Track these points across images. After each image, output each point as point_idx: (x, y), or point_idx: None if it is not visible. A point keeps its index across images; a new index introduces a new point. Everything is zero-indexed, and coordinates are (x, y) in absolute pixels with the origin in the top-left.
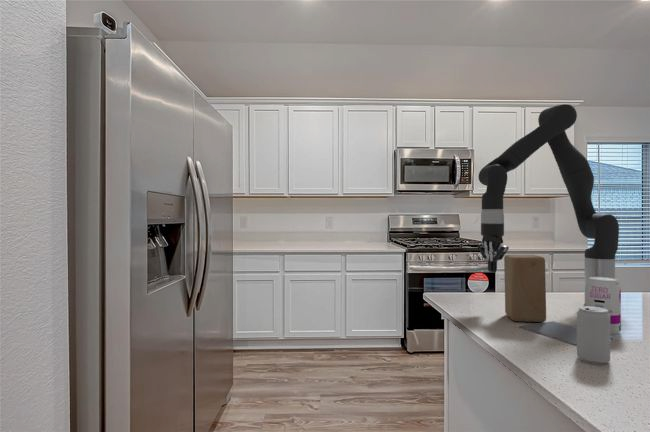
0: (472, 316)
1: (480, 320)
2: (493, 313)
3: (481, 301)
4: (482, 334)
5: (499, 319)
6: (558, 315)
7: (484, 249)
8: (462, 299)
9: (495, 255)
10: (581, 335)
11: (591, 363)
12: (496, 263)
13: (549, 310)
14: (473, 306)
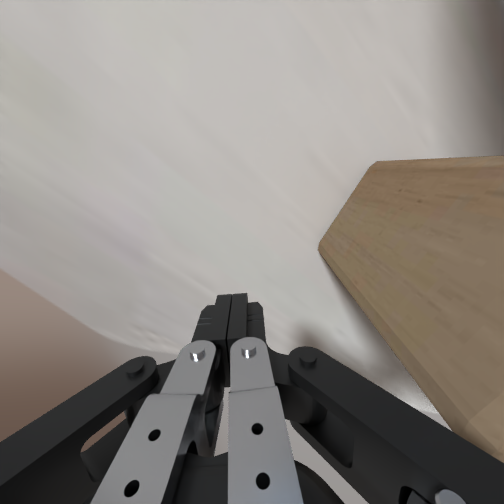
0: (293, 342)
1: (334, 346)
2: (287, 270)
3: (117, 191)
4: (421, 402)
5: (348, 298)
6: (404, 65)
7: (46, 499)
8: (72, 238)
9: (317, 449)
10: None
11: None
12: (265, 339)
13: (332, 23)
14: (187, 270)
